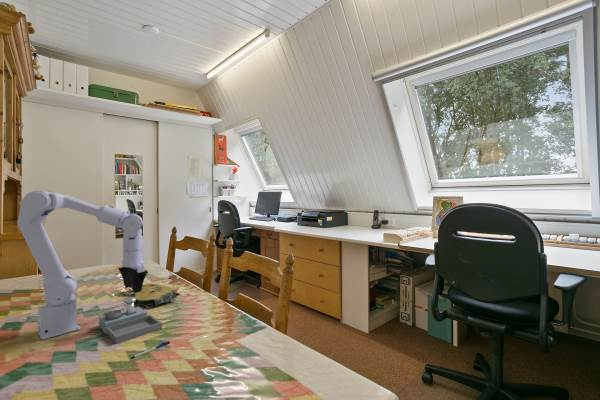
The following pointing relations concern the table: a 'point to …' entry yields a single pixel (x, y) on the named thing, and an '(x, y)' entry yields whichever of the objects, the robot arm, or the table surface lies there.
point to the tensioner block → (119, 317)
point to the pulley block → (154, 295)
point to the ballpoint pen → (151, 349)
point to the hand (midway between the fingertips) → (132, 289)
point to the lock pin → (129, 305)
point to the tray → (133, 328)
